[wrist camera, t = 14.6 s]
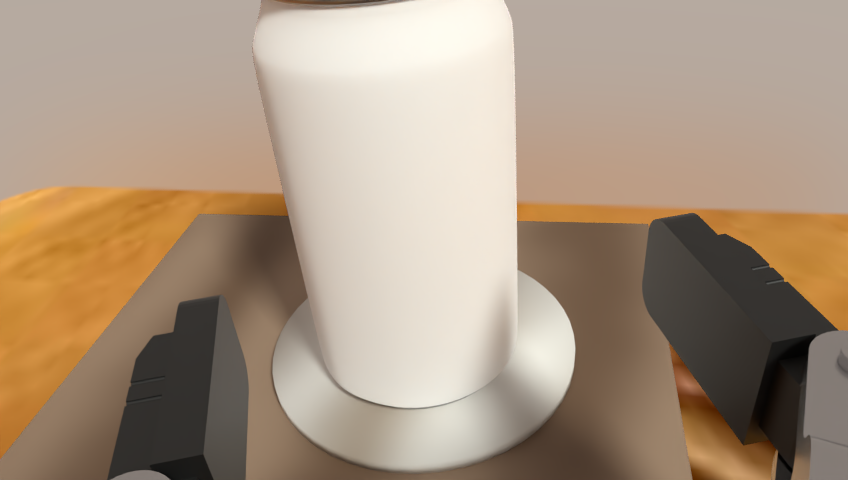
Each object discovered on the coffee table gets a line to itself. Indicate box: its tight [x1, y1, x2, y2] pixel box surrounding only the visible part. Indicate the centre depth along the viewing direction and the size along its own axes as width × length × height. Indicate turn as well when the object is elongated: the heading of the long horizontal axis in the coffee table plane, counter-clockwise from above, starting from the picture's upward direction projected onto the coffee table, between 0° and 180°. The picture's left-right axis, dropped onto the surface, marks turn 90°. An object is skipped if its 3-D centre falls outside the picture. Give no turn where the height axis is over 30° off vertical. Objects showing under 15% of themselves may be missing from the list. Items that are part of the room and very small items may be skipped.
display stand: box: [0, 214, 692, 480], centre depth 24 cm, size 20×16×3 cm
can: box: [252, 0, 518, 409], centre depth 19 cm, size 6×6×12 cm
